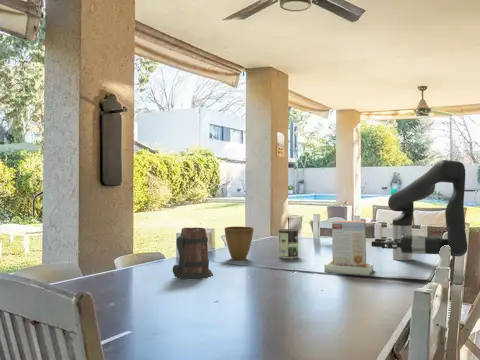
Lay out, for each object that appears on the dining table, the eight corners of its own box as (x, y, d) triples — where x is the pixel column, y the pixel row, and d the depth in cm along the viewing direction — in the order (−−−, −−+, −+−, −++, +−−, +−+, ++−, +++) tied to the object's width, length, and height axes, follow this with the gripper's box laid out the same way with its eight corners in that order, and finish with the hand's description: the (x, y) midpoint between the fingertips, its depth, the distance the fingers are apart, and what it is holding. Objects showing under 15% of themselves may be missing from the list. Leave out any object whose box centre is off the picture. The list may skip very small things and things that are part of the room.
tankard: (186, 270, 207) (186, 225, 207) (220, 273, 200) (220, 227, 200) (156, 280, 186) (156, 231, 186) (193, 284, 179) (193, 232, 179)
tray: (330, 267, 211) (330, 260, 211) (373, 270, 203) (373, 263, 203) (324, 271, 202) (324, 264, 202) (369, 275, 193) (369, 268, 193)
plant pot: (219, 260, 232) (219, 228, 232) (231, 256, 246) (231, 226, 246) (247, 262, 227) (247, 229, 227) (257, 257, 240) (257, 226, 240)
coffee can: (299, 255, 246) (299, 229, 246) (297, 258, 236) (297, 231, 236) (279, 255, 248) (279, 228, 248) (277, 258, 238) (277, 230, 238)
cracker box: (366, 268, 203) (366, 220, 203) (365, 271, 197) (364, 222, 197) (334, 266, 208) (333, 220, 208) (332, 269, 202) (331, 221, 202)
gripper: (415, 233, 197) (376, 232, 204) (411, 237, 185) (370, 235, 192) (415, 251, 197) (376, 249, 204) (412, 256, 185) (370, 253, 192)
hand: (373, 242), depth 198 cm, fingers open, 8 cm apart
